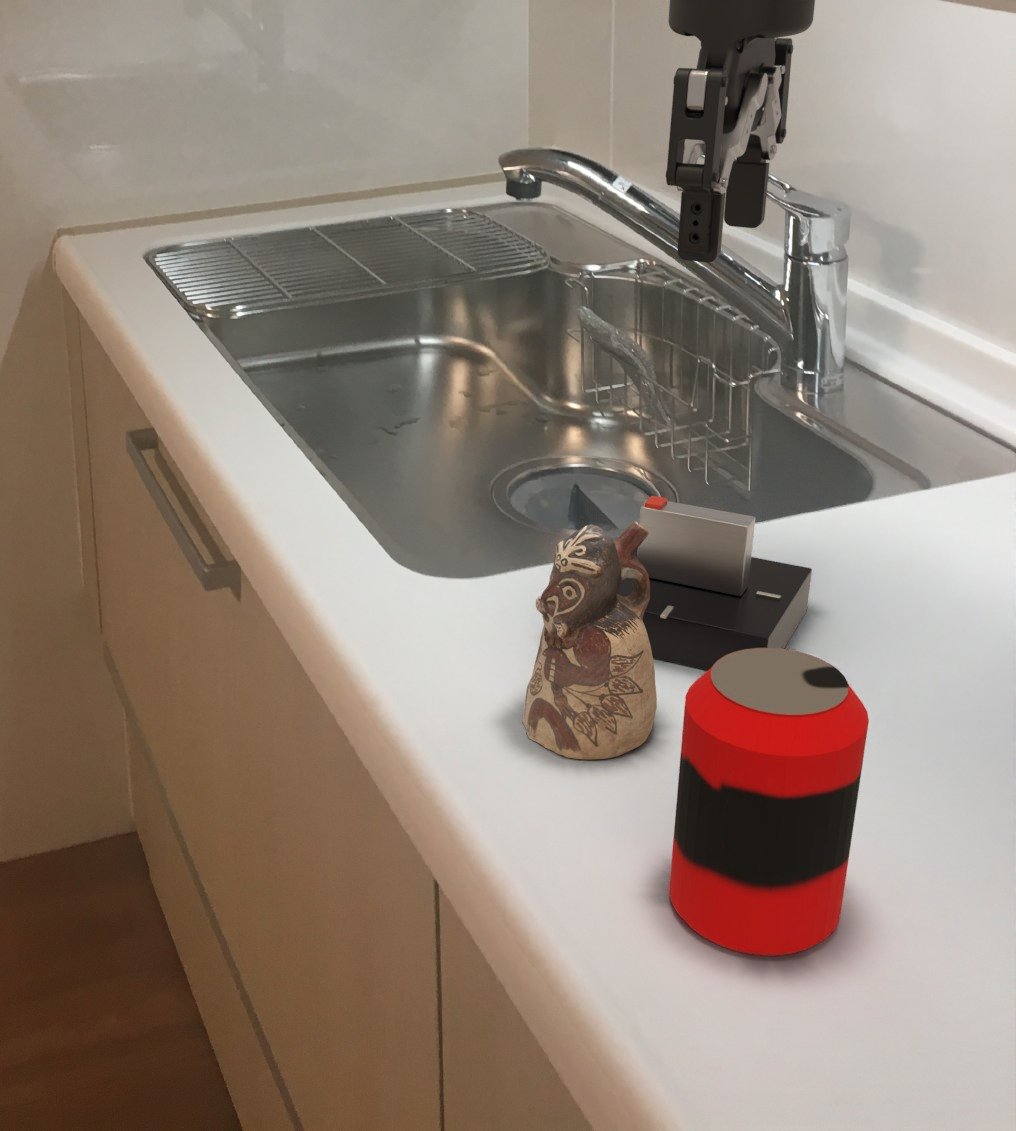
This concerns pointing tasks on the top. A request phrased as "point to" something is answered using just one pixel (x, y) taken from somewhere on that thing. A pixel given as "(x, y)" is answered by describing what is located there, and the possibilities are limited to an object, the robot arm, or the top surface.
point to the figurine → (593, 650)
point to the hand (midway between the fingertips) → (721, 242)
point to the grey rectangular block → (696, 545)
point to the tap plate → (724, 614)
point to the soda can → (766, 800)
